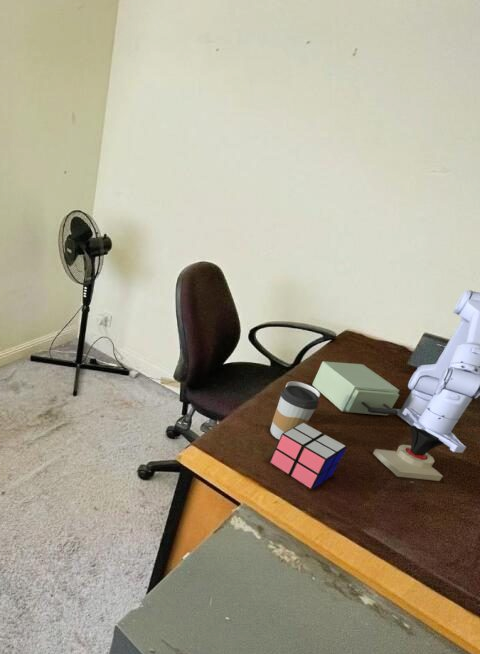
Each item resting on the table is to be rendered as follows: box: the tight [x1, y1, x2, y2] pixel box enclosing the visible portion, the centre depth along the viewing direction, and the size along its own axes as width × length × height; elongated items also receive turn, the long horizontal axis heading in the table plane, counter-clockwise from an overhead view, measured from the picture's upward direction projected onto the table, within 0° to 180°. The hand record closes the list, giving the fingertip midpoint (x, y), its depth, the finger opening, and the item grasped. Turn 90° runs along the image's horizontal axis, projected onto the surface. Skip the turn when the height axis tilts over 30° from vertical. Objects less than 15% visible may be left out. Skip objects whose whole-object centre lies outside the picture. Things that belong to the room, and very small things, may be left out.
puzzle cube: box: [269, 423, 348, 490], centre depth 104 cm, size 10×10×10 cm
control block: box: [372, 444, 444, 482], centre depth 107 cm, size 11×9×4 cm
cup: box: [284, 380, 321, 399], centre depth 124 cm, size 8×8×10 cm
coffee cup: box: [269, 385, 320, 440], centre depth 114 cm, size 8×8×15 cm
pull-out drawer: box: [346, 389, 400, 416], centre depth 129 cm, size 18×11×8 cm, turn 173°
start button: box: [406, 448, 426, 460], centre depth 108 cm, size 4×4×2 cm
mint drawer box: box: [311, 361, 400, 416], centre depth 132 cm, size 15×13×10 cm
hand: (416, 453), depth 107 cm, fingers closed, pressing on start button
